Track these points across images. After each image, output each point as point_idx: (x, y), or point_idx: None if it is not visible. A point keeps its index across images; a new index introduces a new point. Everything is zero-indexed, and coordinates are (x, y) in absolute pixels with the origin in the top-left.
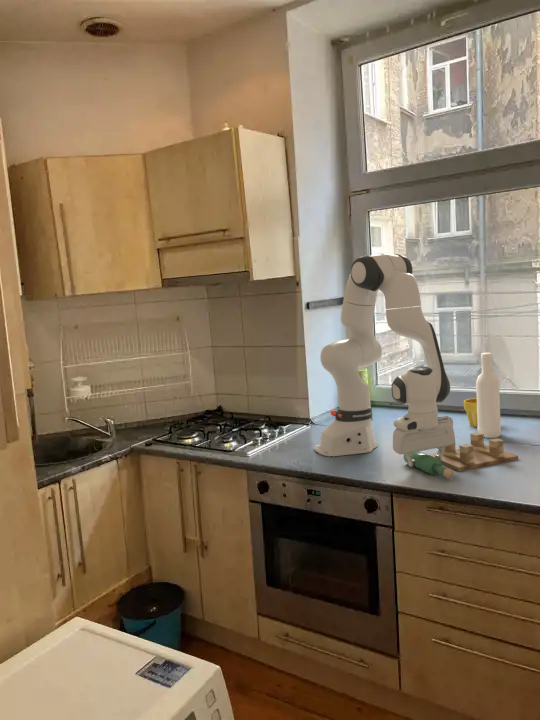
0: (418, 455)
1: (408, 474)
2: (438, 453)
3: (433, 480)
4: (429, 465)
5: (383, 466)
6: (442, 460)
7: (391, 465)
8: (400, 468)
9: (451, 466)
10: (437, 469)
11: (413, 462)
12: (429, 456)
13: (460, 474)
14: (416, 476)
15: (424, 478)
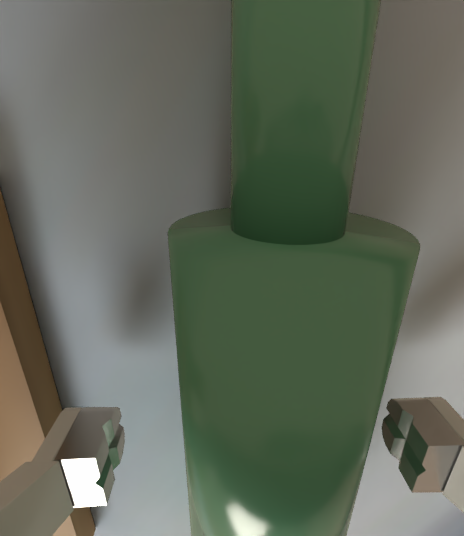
0: (339, 531)
1: (445, 335)
2: (51, 512)
3: (412, 44)
4: (395, 239)
5: (433, 519)
6: (39, 438)
7: (383, 516)
8: (383, 458)
9: (16, 297)
10: (370, 63)
11: (441, 427)
12: (291, 436)
13: (12, 57)
14: (438, 260)
15: (430, 168)
